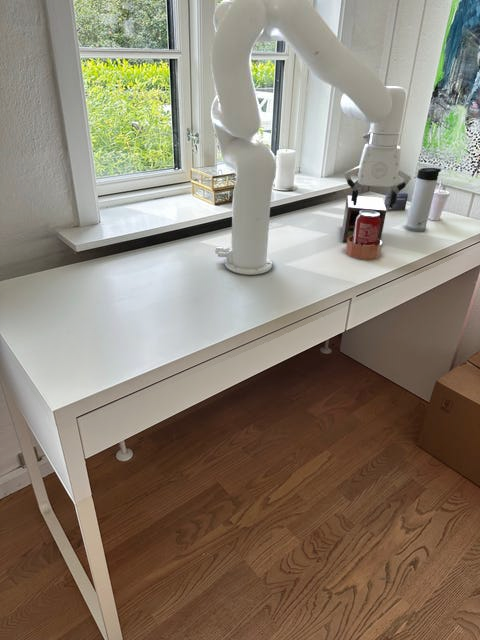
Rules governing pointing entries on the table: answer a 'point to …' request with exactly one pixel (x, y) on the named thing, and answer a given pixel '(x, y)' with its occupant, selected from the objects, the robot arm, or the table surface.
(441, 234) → the table surface
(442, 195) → the smoothie
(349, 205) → the desk shelf
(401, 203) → the mini dv tape
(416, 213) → the travel mug
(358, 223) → the soda can
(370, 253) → the can holder
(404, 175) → the robot arm
